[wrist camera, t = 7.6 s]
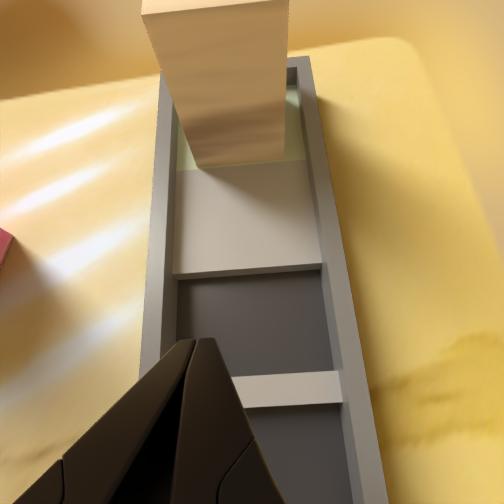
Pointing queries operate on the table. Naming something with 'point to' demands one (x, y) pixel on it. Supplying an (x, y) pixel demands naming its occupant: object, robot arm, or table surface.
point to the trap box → (267, 298)
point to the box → (4, 244)
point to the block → (224, 74)
